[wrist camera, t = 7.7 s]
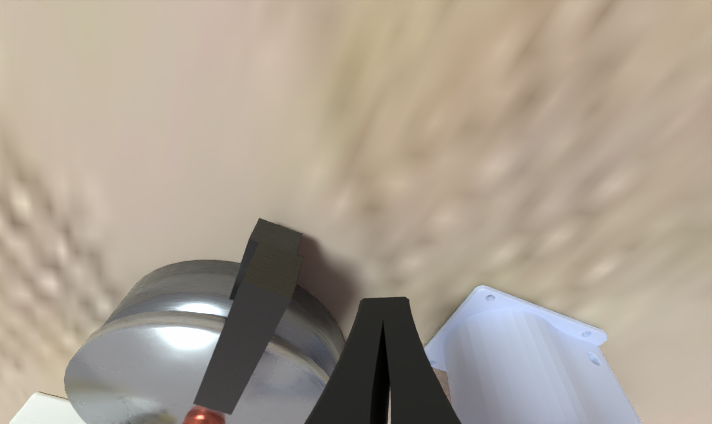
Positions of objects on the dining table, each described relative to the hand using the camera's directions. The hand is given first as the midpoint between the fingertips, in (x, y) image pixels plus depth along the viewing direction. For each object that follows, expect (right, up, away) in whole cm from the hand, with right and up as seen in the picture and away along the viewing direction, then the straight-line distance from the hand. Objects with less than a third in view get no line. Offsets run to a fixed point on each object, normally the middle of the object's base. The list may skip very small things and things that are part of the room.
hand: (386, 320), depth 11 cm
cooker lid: (-9, -7, +11) cm, 16 cm away
